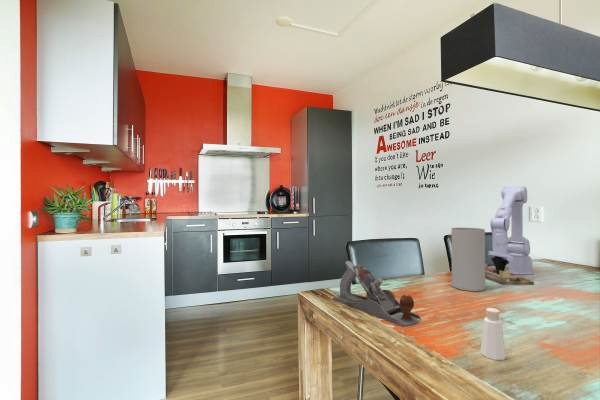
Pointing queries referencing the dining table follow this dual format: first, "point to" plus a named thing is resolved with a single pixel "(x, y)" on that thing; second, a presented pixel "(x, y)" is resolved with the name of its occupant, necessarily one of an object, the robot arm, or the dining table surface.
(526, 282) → the slide rail board
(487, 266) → the trammel
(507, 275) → the block
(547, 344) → the dining table surface
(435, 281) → the dining table surface
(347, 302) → the hand plane
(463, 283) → the cylinder vase
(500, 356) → the salt shaker
